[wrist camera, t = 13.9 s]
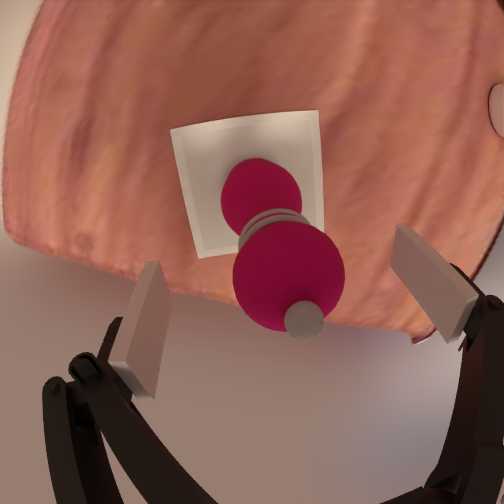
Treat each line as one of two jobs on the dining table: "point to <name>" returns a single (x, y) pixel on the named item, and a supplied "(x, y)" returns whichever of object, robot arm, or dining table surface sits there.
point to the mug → (497, 108)
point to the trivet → (235, 151)
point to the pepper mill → (279, 251)
